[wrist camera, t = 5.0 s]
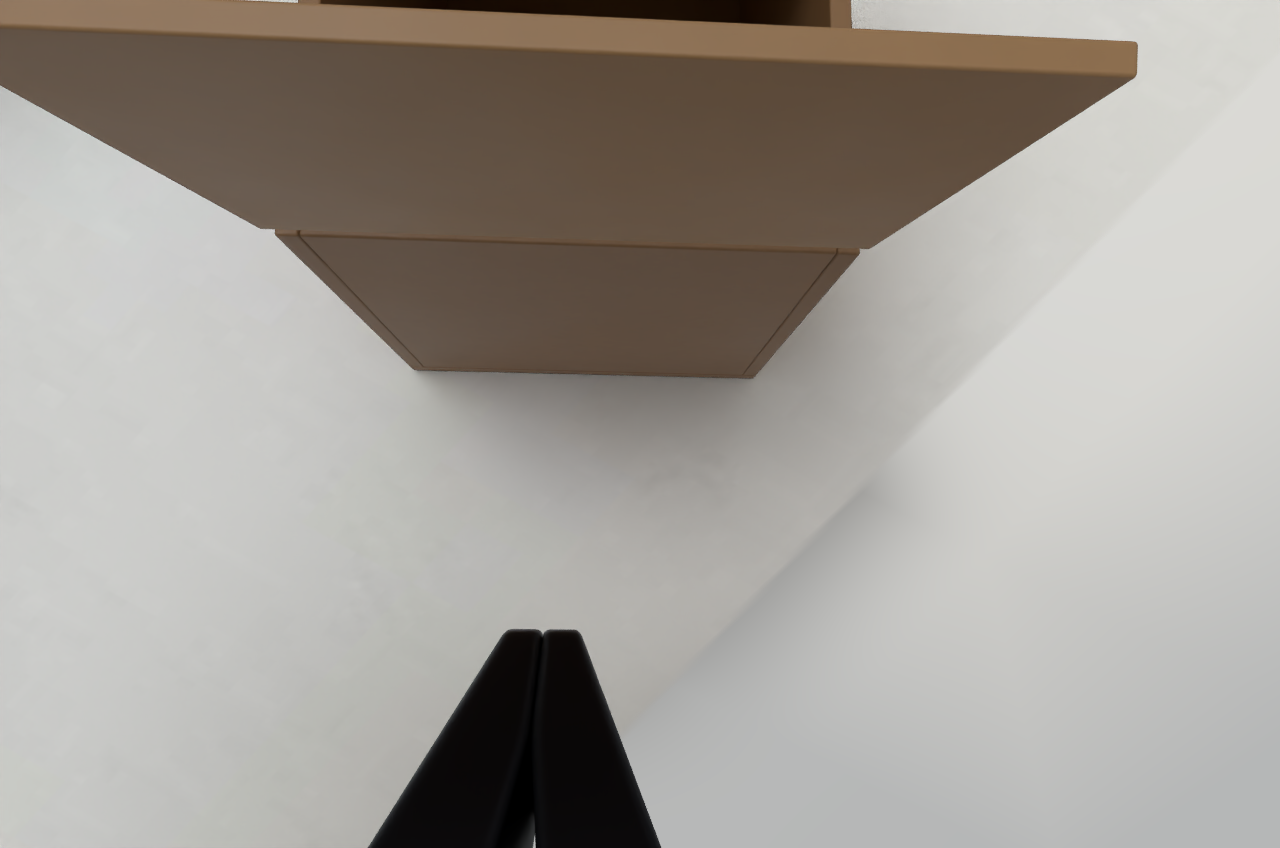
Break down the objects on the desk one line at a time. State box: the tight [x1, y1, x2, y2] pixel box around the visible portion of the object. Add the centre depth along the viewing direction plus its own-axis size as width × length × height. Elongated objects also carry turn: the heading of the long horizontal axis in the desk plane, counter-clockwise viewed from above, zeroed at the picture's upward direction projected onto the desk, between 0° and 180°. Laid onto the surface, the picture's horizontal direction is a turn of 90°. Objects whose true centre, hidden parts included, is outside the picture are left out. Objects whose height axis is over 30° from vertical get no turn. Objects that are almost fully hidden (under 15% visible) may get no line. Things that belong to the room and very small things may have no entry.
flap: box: [0, 0, 1138, 249], centre depth 9 cm, size 6×10×1 cm
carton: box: [275, 0, 860, 378], centre depth 18 cm, size 13×10×10 cm
